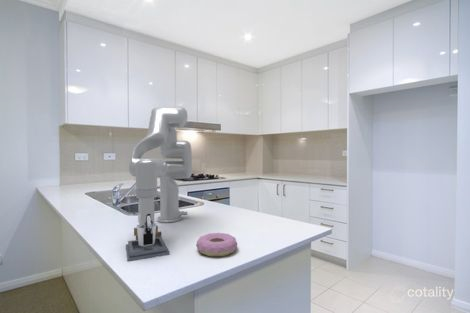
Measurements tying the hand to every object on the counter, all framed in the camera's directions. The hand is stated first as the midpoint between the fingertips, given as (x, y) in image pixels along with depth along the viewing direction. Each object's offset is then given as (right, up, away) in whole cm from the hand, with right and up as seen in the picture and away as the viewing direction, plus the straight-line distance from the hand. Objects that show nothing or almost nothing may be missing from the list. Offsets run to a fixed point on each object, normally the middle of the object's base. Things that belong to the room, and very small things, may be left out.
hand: (147, 240), depth 97 cm
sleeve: (-5, -3, +15) cm, 16 cm away
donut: (+26, -4, +1) cm, 26 cm away
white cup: (0, -1, 0) cm, 1 cm away
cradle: (0, -4, 0) cm, 4 cm away
